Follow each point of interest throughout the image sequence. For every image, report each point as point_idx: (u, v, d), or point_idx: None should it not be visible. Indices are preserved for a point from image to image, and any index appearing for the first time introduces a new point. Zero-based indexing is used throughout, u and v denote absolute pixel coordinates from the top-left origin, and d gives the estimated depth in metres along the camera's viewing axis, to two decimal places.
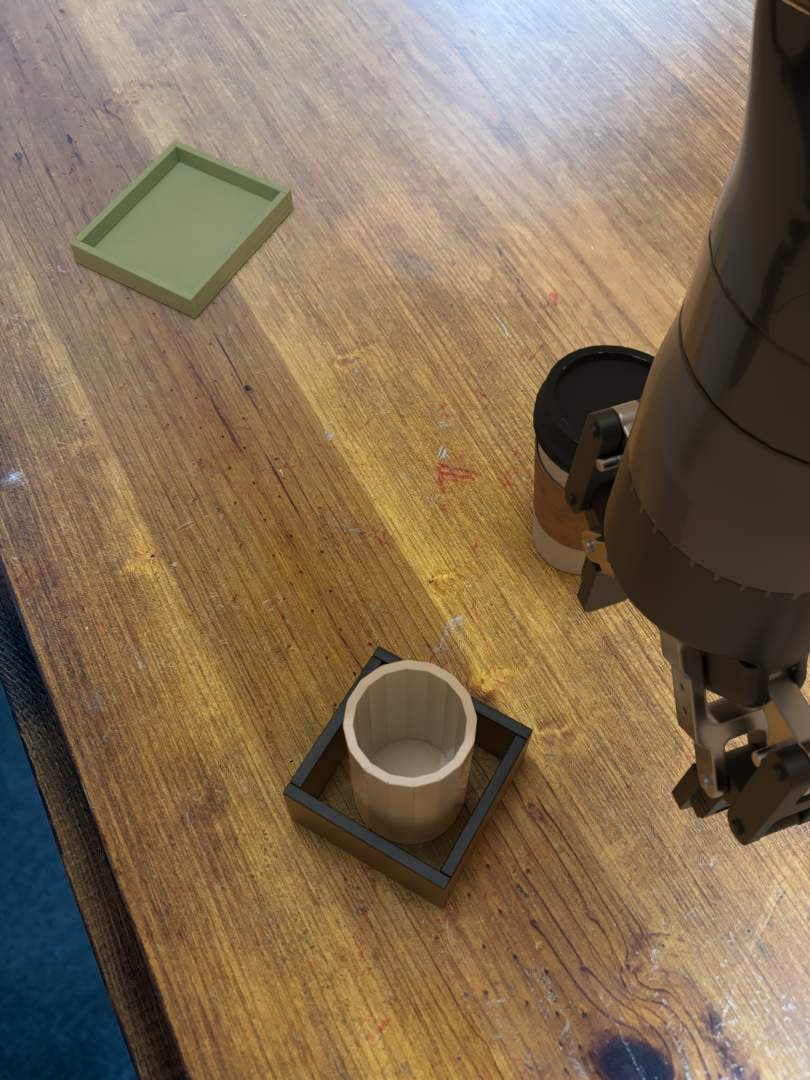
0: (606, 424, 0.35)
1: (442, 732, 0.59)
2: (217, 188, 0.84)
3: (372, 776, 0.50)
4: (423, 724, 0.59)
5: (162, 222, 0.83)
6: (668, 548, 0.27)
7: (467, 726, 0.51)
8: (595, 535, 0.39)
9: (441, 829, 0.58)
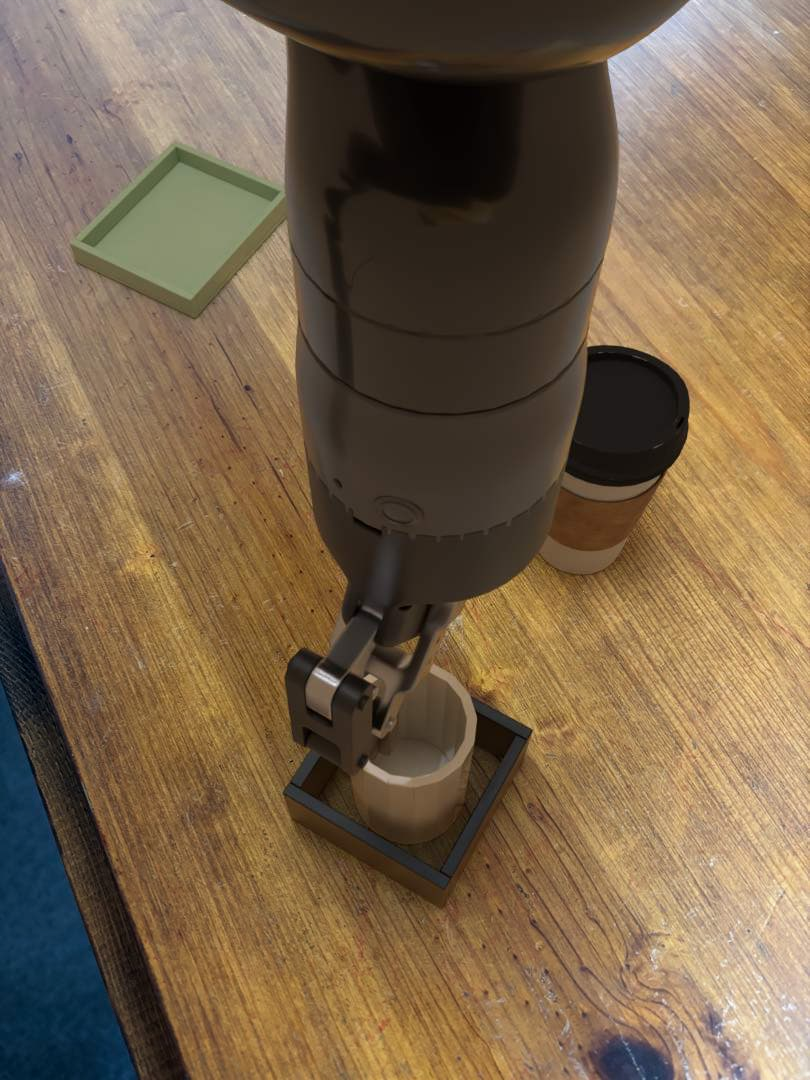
0: None
1: (442, 732, 0.59)
2: (217, 188, 0.84)
3: (372, 776, 0.50)
4: (423, 724, 0.59)
5: (162, 222, 0.83)
6: None
7: (467, 726, 0.51)
8: None
9: (441, 829, 0.58)
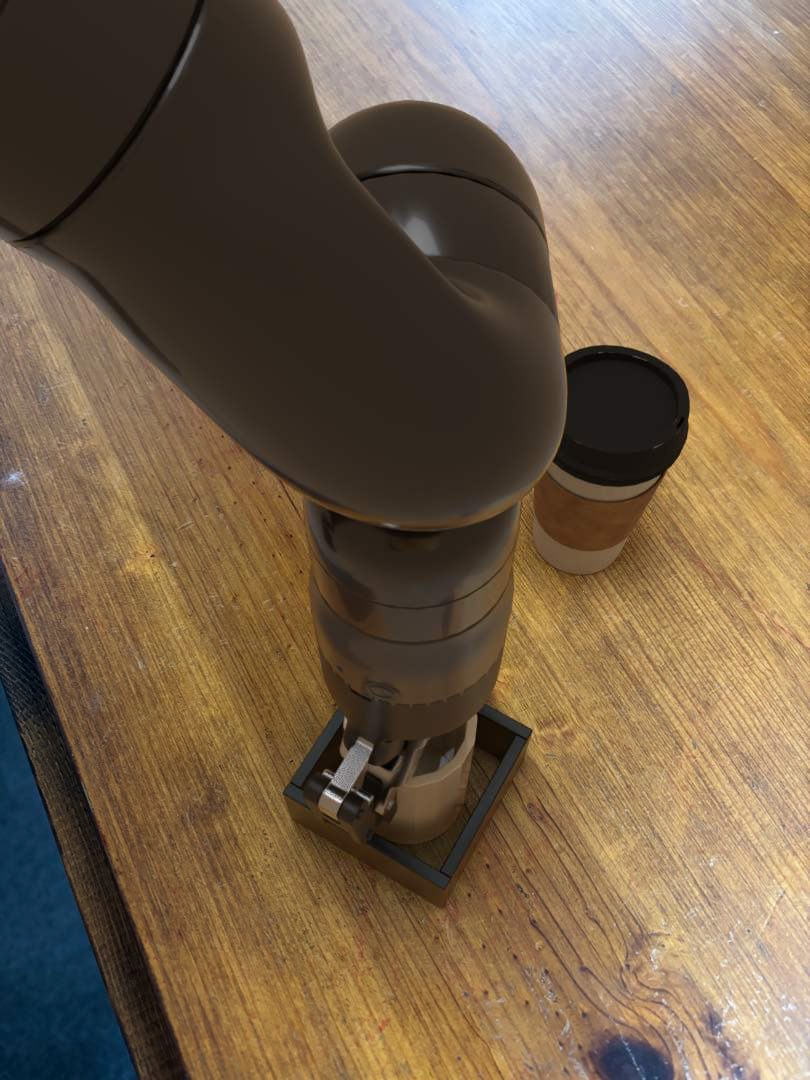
0: None
1: None
2: None
3: (372, 776, 0.50)
4: None
5: None
6: None
7: (467, 726, 0.51)
8: None
9: (441, 829, 0.58)
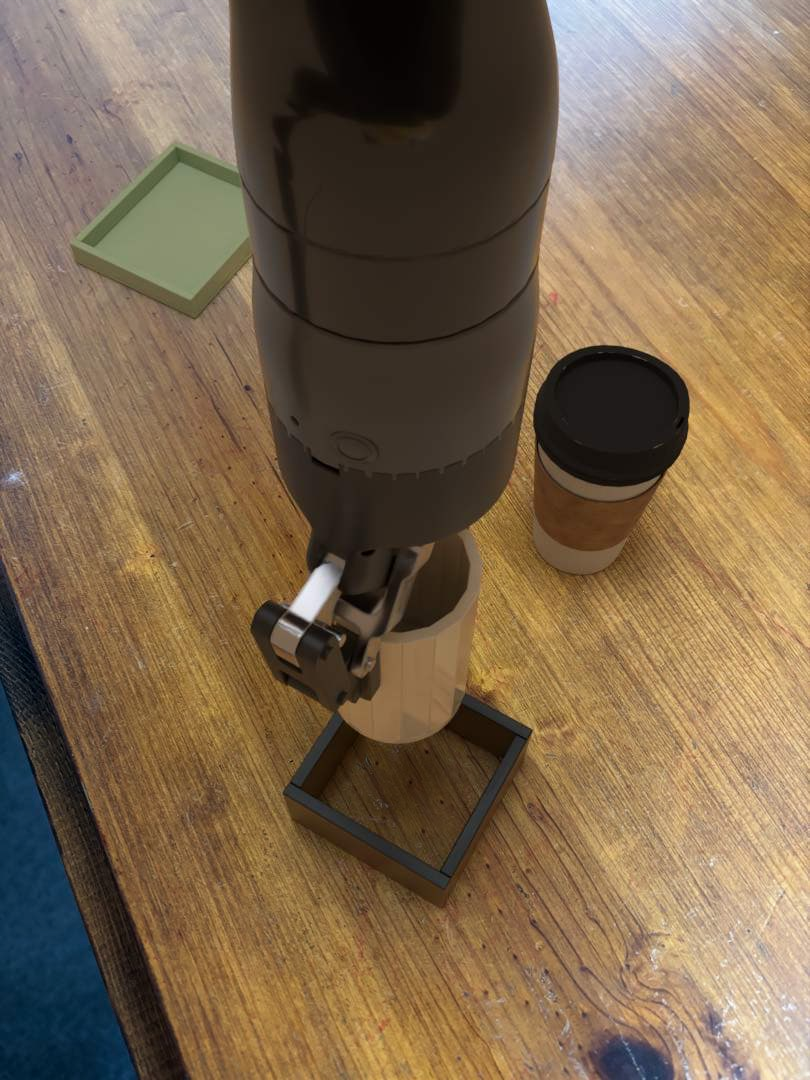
0: None
1: (438, 605, 0.48)
2: (217, 188, 0.84)
3: None
4: (415, 596, 0.48)
5: (162, 222, 0.83)
6: None
7: (470, 573, 0.40)
8: None
9: (436, 724, 0.47)
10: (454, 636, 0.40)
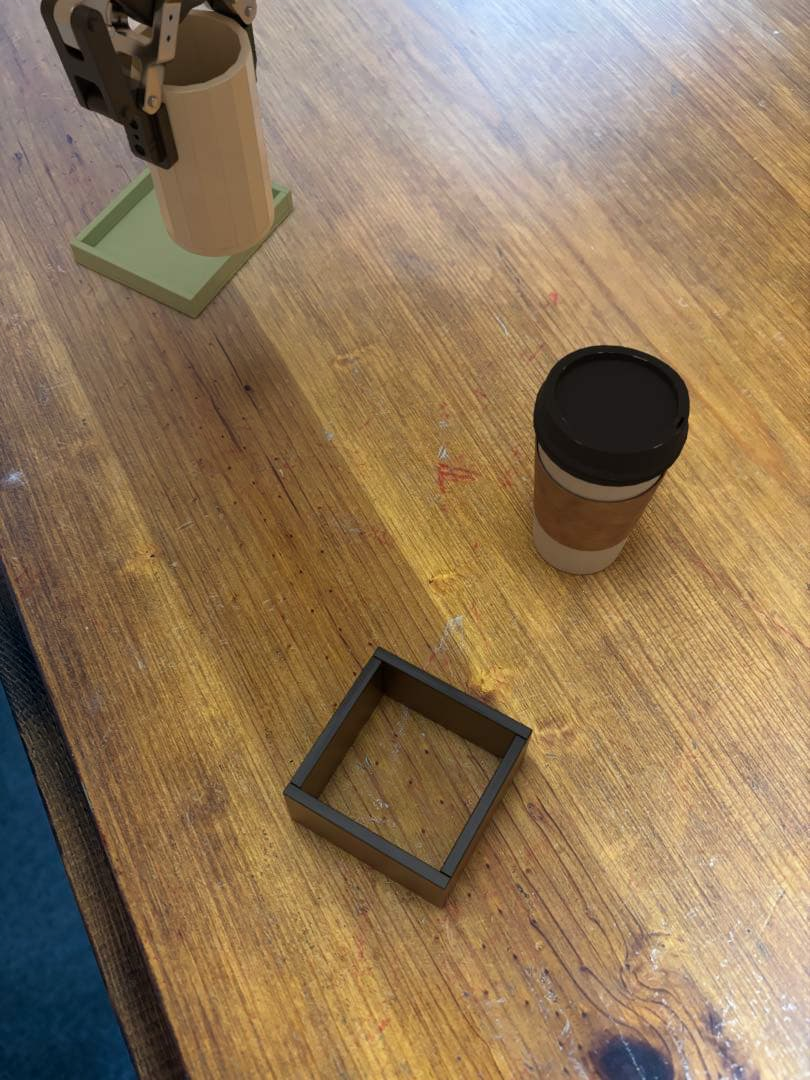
0: None
1: None
2: None
3: None
4: None
5: (162, 222, 0.83)
6: None
7: (240, 53, 0.53)
8: None
9: (242, 234, 0.60)
10: (227, 100, 0.52)
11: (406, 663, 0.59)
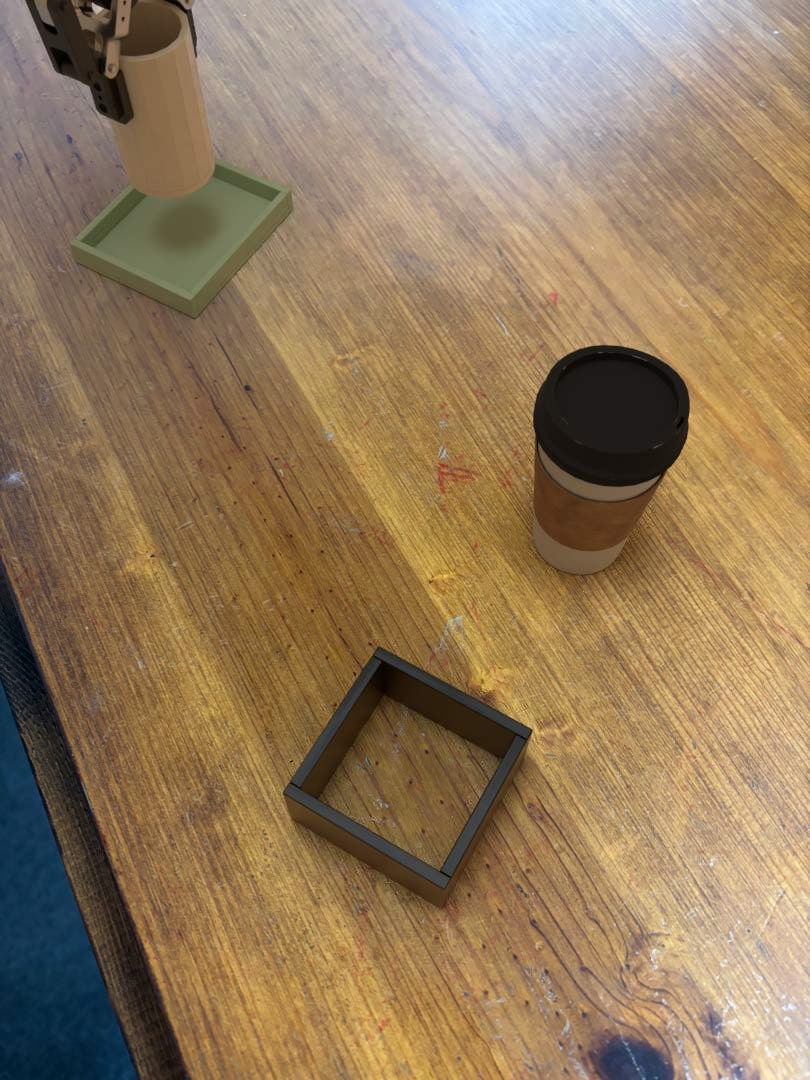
0: None
1: None
2: (217, 188, 0.84)
3: None
4: None
5: (162, 222, 0.83)
6: None
7: (181, 31, 0.67)
8: None
9: (188, 179, 0.74)
10: (171, 68, 0.67)
11: (406, 663, 0.59)
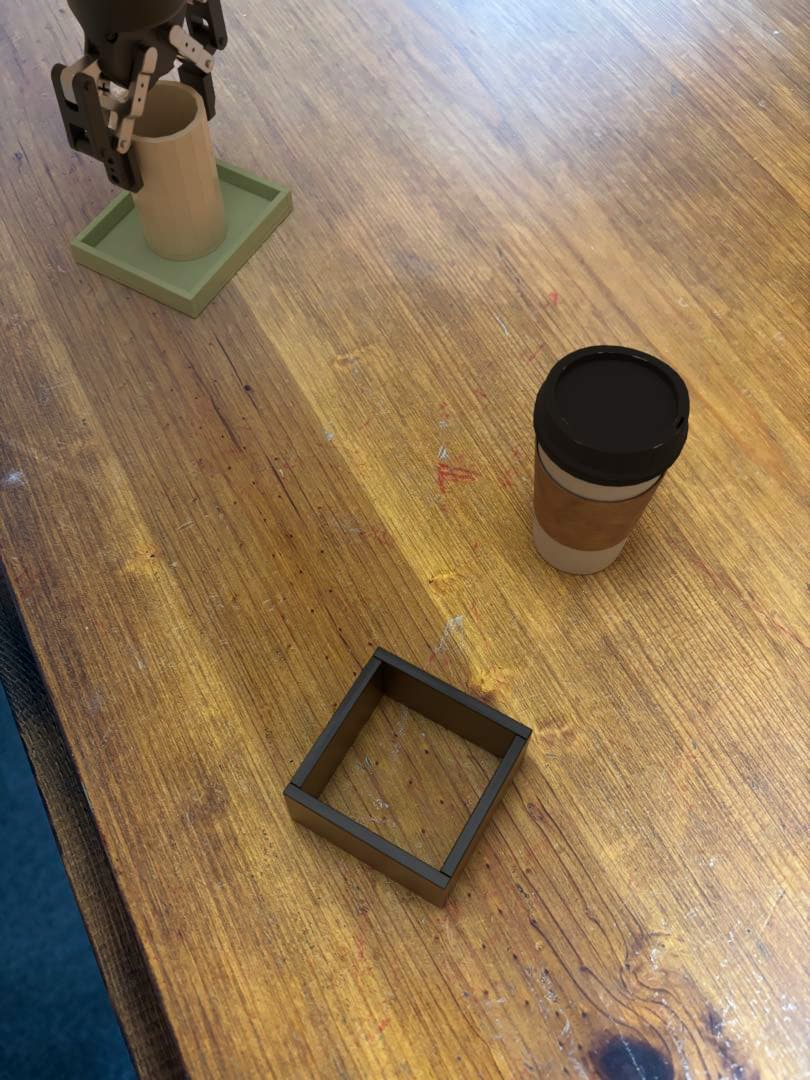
0: None
1: None
2: None
3: None
4: None
5: None
6: None
7: (197, 112, 0.73)
8: None
9: (202, 244, 0.80)
10: (188, 147, 0.72)
11: (406, 663, 0.59)
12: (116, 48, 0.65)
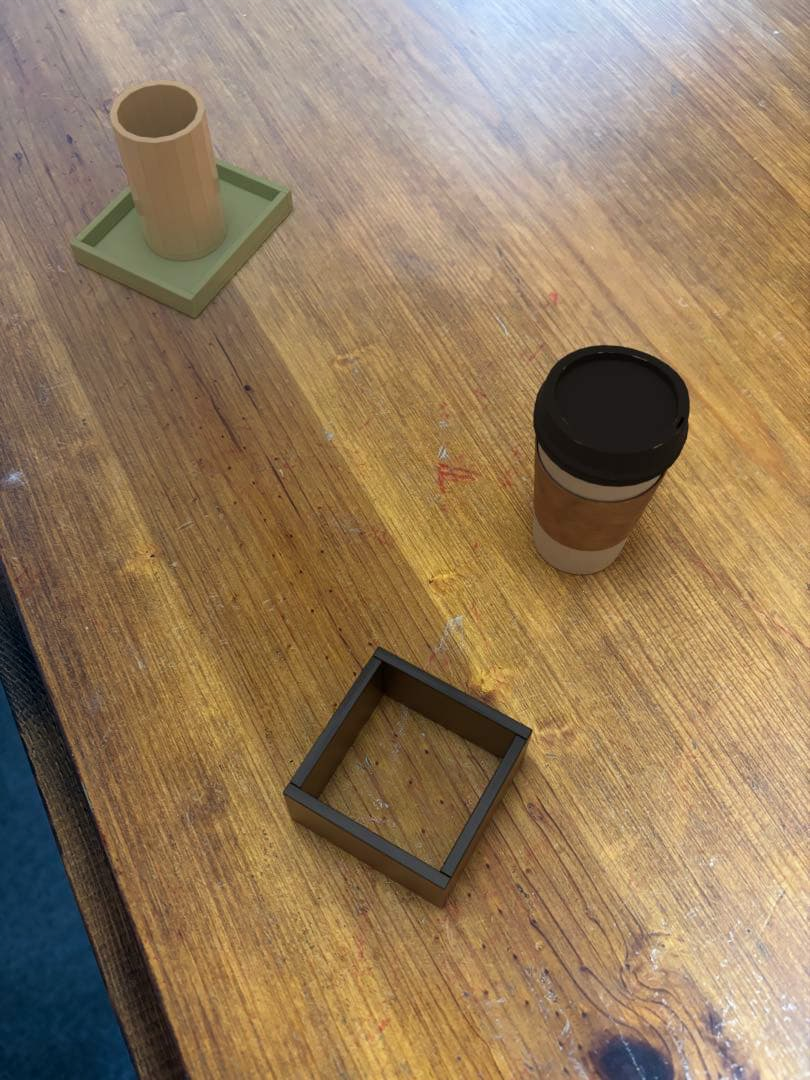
0: None
1: None
2: None
3: (126, 139, 0.72)
4: None
5: None
6: None
7: (197, 112, 0.73)
8: None
9: (202, 244, 0.80)
10: (188, 147, 0.72)
11: (406, 663, 0.59)
12: None
